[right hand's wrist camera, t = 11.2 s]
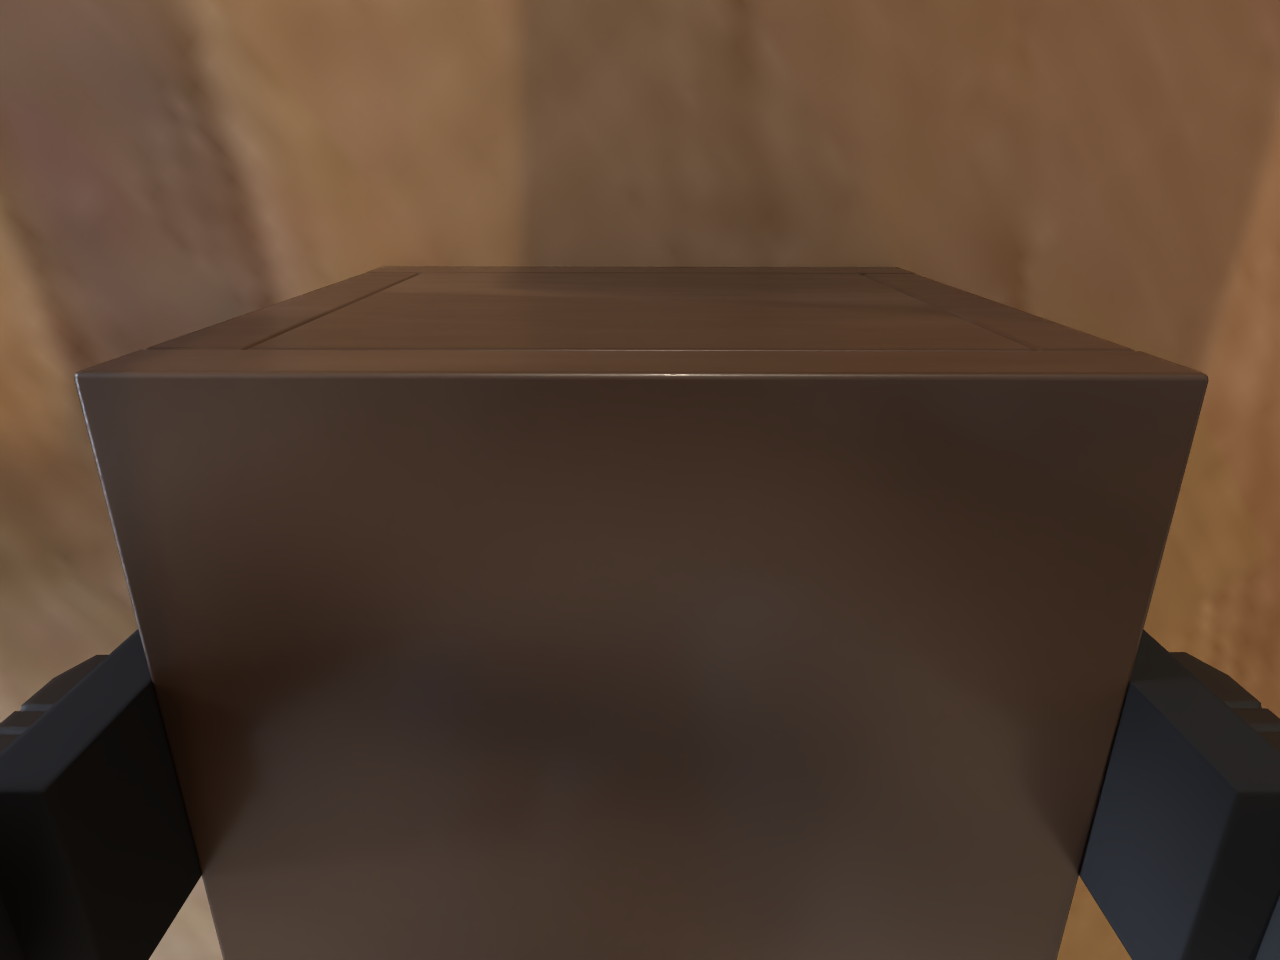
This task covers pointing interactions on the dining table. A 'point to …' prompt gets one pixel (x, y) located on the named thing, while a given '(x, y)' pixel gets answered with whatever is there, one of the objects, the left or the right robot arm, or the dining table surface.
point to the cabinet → (640, 609)
